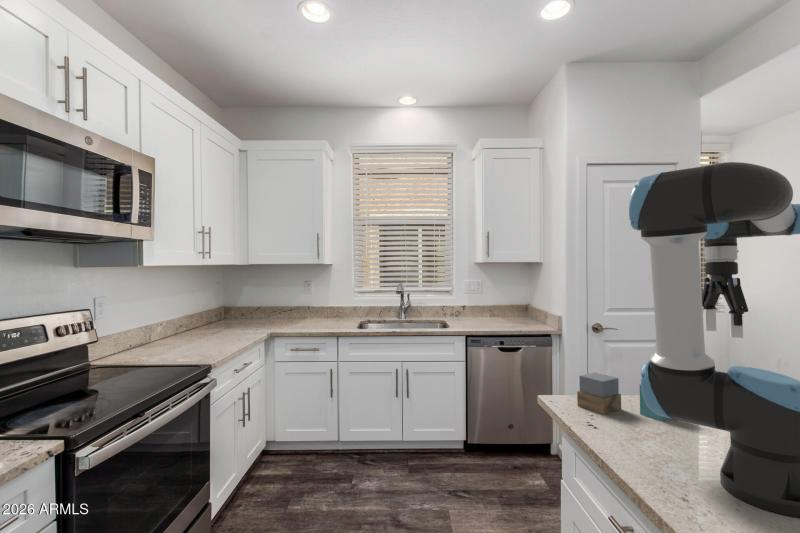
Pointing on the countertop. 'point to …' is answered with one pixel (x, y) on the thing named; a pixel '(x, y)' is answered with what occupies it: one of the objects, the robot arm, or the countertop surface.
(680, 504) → the countertop surface
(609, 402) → the walnut base
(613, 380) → the charcoal block
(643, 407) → the teal block
